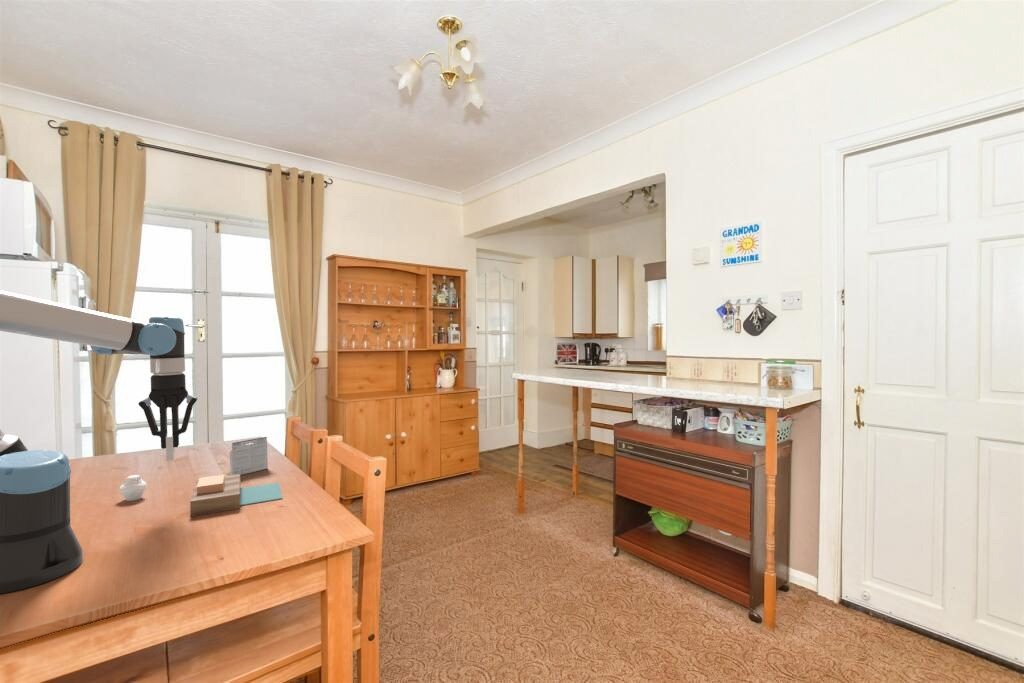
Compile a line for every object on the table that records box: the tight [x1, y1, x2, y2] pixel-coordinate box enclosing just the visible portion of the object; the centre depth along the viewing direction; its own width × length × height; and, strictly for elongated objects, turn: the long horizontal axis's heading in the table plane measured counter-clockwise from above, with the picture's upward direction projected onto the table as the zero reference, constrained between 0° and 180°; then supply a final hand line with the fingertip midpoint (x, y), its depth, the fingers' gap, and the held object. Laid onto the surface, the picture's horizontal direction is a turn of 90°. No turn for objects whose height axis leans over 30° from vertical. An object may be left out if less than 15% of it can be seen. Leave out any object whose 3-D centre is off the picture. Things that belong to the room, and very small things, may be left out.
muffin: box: [118, 474, 148, 502], centre depth 130 cm, size 6×6×7 cm
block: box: [197, 474, 225, 494], centre depth 128 cm, size 9×6×2 cm, turn 31°
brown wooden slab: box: [189, 474, 241, 518], centre depth 129 cm, size 20×11×4 cm, turn 31°
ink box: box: [229, 436, 269, 476], centre depth 155 cm, size 12×2×12 cm, turn 141°
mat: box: [240, 481, 283, 507], centre depth 134 cm, size 16×11×1 cm
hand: (170, 459), depth 124 cm, fingers closed
